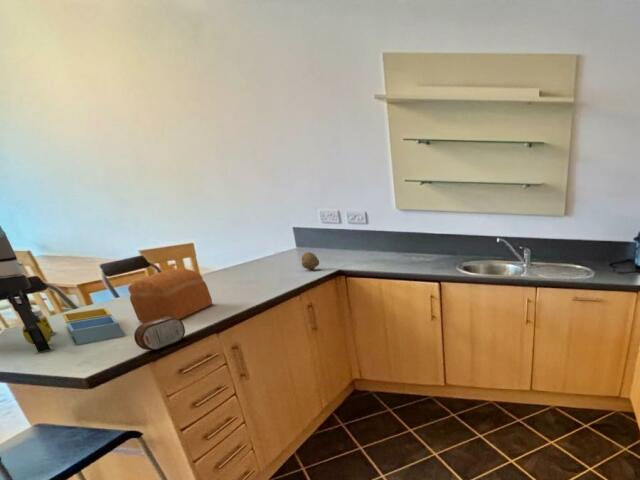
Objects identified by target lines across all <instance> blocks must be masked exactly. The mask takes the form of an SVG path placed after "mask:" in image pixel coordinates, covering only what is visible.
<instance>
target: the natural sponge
mask: <svg viewBox="0 0 640 480" xmlns="http://www.w3.org/2000/svg"><path fill="white" fill-rule="evenodd" d="M319 265H320V260H319V259H318V256H317V255H316V254H314V253H313V252H311V251H308V252H304V253H303V254H302V256H301V266H302V267H303V268H304V269H305V270H308V271H313V270H315V268H317V267H319Z"/></svg>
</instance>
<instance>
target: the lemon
mask: <svg viewBox="0 0 640 480" xmlns="http://www.w3.org/2000/svg"><path fill="white" fill-rule="evenodd" d="M37 325H38V326H39V327H40V329H41V331H42V333H43V335H44V337H45V339H46V341H47V343H48V344H49V342H51V339H52V335H51V334H50V332H49V330H48V329H47V328H46V327H45V326H44V325H42V324H40V323H37ZM34 326H35V325H34ZM29 327H30V326H29ZM25 328H26V327H25V325H23V327H22V329H21V331H22V336H23V338H24V339H25V341H27V342H28V343H30V344H32V345H34V343H33V341H32V339H31V337H30V335H29V334H28V332H24V331H23V330H25Z"/></svg>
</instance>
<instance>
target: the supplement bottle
mask: <svg viewBox="0 0 640 480" xmlns="http://www.w3.org/2000/svg"><path fill="white" fill-rule="evenodd" d="M31 310H32V312H33V313H34V314H35V316H39V318H40V319H36V320H38V322H39V323H40V324H42V325H44V326H45V327H46V328H47V329H48V330H49V332H50V334H51V336H52V335H54V330H53V328H52V326H51V324H50V322H49V320H48V318H47V316H46V315H45V314H43V311H42V309H40V308H32V309H31Z"/></svg>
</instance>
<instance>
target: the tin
mask: <svg viewBox="0 0 640 480" xmlns="http://www.w3.org/2000/svg"><path fill="white" fill-rule="evenodd" d="M185 335H186V328H185V325H184V322H183V321H182V320H181V319H177V318H173V317H163V318H160V319H156V320H153V321H150V322H146V323H144V322H142V323H141V324H139V325H138V326H137V328H136V329H135V330H134V334H133V338H134V339H133V340H134V342H135V344H136V346H137V347H139V348H140V349H142V350H146V351H158V350H161V349H163V348H165V347H168V346H171V345H174V344H176V343H179V342H180V341H182V340H183V339H184V337H185Z"/></svg>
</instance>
